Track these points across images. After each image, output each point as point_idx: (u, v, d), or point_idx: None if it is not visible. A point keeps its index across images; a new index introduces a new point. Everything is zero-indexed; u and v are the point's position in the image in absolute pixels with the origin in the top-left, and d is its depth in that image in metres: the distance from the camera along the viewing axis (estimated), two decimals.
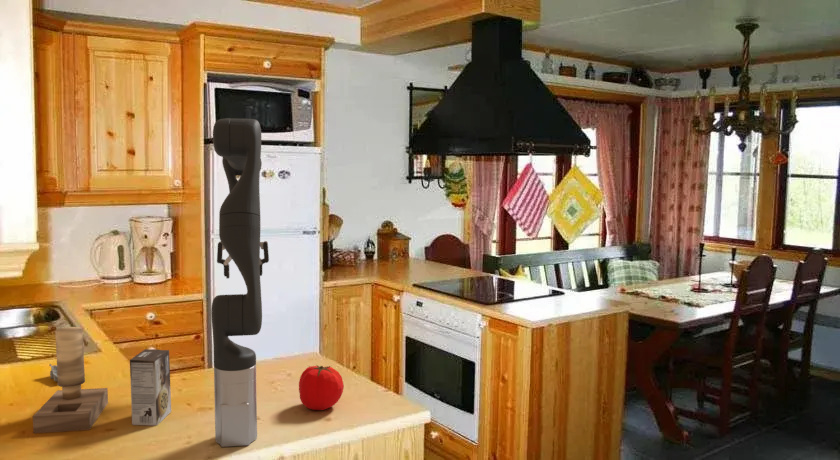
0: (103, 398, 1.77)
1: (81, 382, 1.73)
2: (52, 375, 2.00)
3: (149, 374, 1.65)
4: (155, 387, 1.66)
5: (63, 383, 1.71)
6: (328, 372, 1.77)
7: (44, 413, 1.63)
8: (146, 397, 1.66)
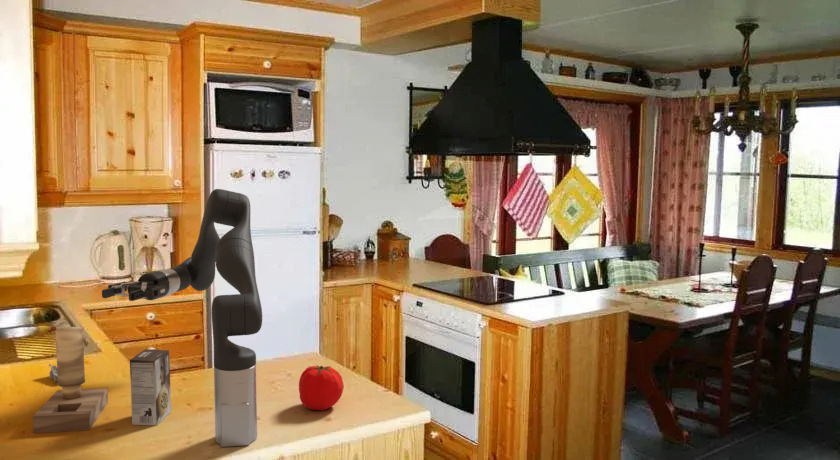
0: (103, 398, 1.77)
1: (81, 382, 1.73)
2: (52, 375, 2.00)
3: (149, 374, 1.65)
4: (155, 387, 1.66)
5: (63, 383, 1.71)
6: (328, 372, 1.77)
7: (44, 413, 1.63)
8: (146, 397, 1.66)
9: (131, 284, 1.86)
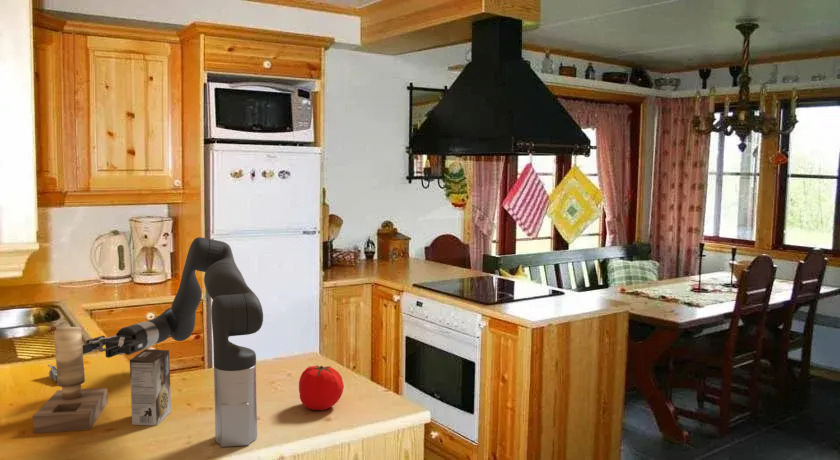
0: (103, 398, 1.77)
1: (81, 382, 1.73)
2: (51, 375, 2.00)
3: (149, 374, 1.65)
4: (155, 387, 1.66)
5: (63, 383, 1.71)
6: (328, 372, 1.77)
7: (44, 413, 1.63)
8: (146, 397, 1.66)
9: (109, 339, 1.88)
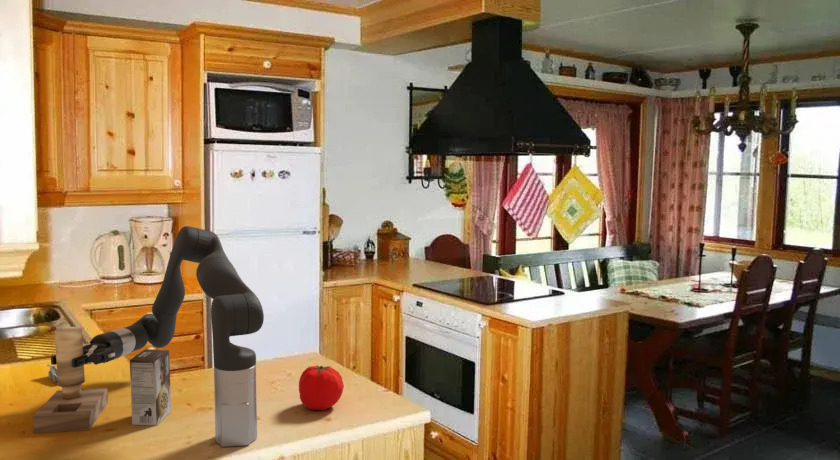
0: (103, 398, 1.77)
1: (81, 382, 1.73)
2: (51, 375, 2.00)
3: (149, 374, 1.65)
4: (155, 387, 1.66)
5: (63, 383, 1.71)
6: (328, 372, 1.77)
7: (44, 413, 1.63)
8: (145, 397, 1.66)
9: (83, 347, 1.79)
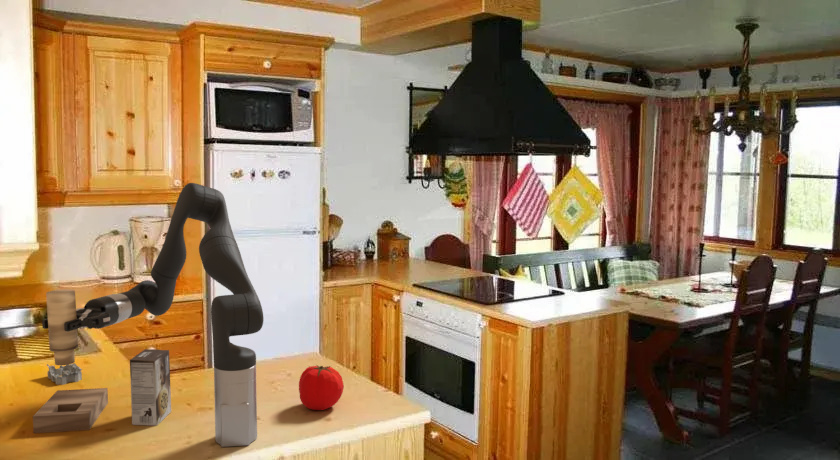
0: (103, 398, 1.77)
1: (74, 347, 1.64)
2: (49, 375, 2.00)
3: (149, 374, 1.65)
4: (155, 387, 1.66)
5: (55, 348, 1.62)
6: (328, 372, 1.77)
7: (44, 413, 1.63)
8: (146, 397, 1.66)
9: (76, 312, 1.70)
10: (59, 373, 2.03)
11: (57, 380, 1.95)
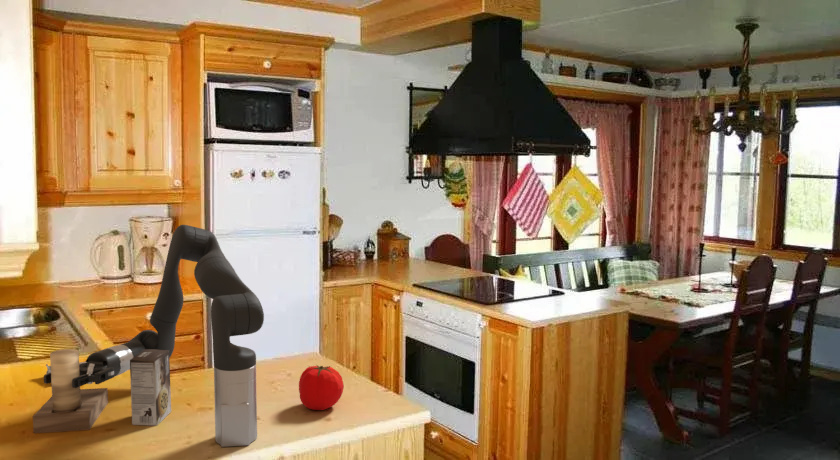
0: (103, 398, 1.77)
1: (77, 407, 1.66)
2: None
3: (149, 374, 1.65)
4: (155, 387, 1.66)
5: (58, 408, 1.64)
6: (328, 372, 1.77)
7: (44, 413, 1.63)
8: (146, 397, 1.66)
9: None
10: None
11: None
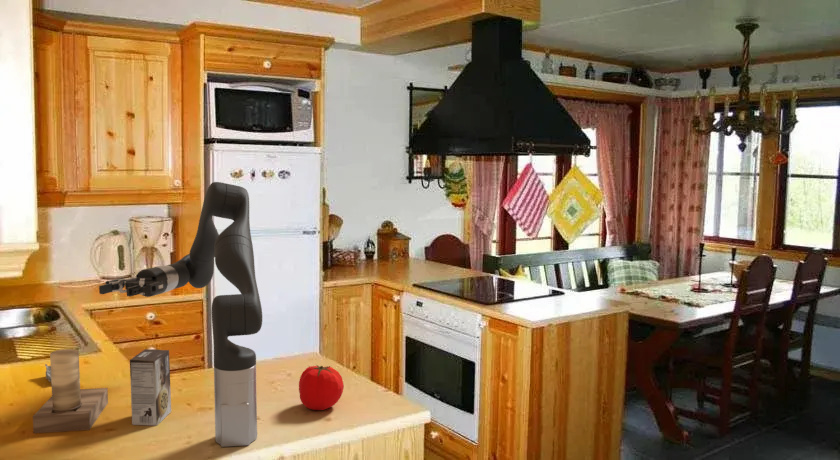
0: (103, 398, 1.77)
1: (77, 407, 1.66)
2: (47, 375, 2.00)
3: (149, 374, 1.65)
4: (155, 387, 1.66)
5: (58, 408, 1.64)
6: (328, 372, 1.77)
7: (44, 413, 1.63)
8: (146, 397, 1.66)
9: (129, 280, 1.83)
10: None
11: None
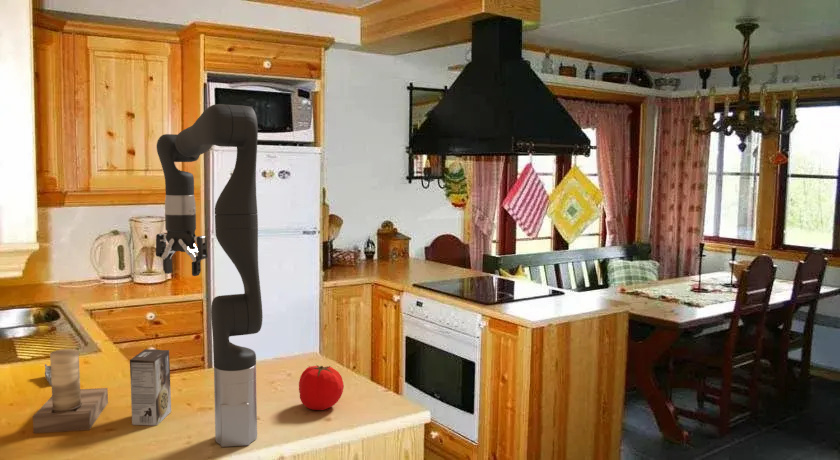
0: (103, 398, 1.77)
1: (77, 407, 1.66)
2: (46, 375, 2.00)
3: (149, 374, 1.65)
4: (155, 387, 1.66)
5: (58, 408, 1.64)
6: (328, 372, 1.77)
7: (44, 413, 1.63)
8: (146, 397, 1.66)
9: (172, 246, 1.81)
10: None
11: (50, 380, 1.95)
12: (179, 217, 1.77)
